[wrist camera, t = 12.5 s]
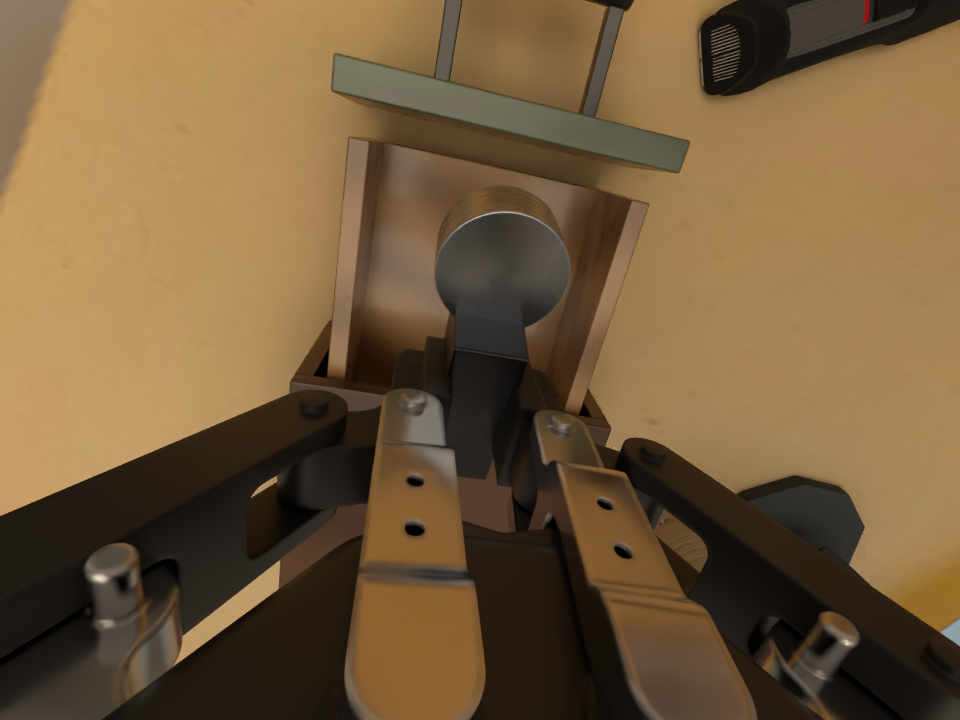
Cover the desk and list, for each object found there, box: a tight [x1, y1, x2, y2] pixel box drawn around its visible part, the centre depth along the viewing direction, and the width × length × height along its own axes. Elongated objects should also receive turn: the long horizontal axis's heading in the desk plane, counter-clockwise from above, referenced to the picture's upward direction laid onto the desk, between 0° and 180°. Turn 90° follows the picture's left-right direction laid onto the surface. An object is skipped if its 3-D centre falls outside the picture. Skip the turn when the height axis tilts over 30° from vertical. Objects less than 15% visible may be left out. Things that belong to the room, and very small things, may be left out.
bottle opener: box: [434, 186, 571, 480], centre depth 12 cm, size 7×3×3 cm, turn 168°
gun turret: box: [738, 476, 871, 586], centre depth 32 cm, size 13×20×13 cm, turn 54°
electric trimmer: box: [698, 0, 960, 96], centre depth 21 cm, size 4×16×3 cm, turn 105°
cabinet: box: [279, 321, 611, 589], centre depth 28 cm, size 17×15×8 cm
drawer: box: [327, 0, 690, 416], centre depth 22 cm, size 21×13×6 cm, turn 168°
